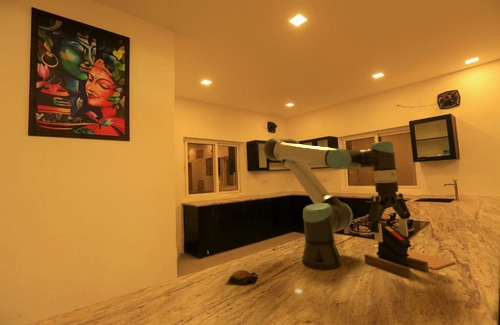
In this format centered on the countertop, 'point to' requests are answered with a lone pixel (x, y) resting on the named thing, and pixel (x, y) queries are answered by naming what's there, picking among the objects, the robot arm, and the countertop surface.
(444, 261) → the mat
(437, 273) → the countertop surface
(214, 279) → the countertop surface
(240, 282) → the brown toy turtle
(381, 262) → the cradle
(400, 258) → the magazine
